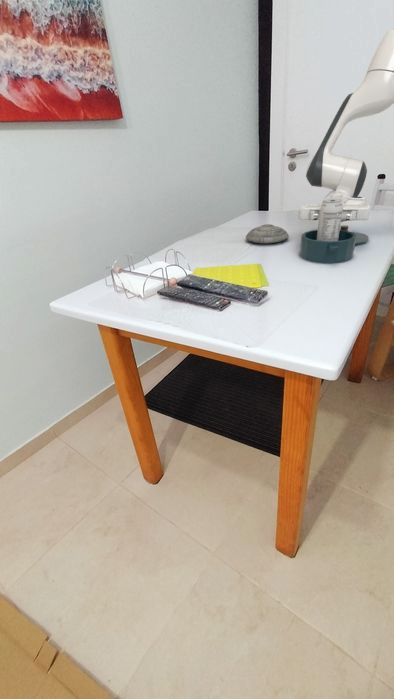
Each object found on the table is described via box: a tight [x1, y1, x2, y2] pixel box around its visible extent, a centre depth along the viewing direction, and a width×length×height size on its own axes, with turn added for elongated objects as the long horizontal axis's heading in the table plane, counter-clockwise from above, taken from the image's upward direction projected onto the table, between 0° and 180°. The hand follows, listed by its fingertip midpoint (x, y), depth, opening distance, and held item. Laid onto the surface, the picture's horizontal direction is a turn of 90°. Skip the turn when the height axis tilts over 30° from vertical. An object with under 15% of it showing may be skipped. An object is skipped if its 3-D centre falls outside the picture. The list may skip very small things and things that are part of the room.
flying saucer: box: [245, 223, 290, 244], centre depth 119 cm, size 15×15×6 cm
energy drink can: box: [317, 198, 343, 241], centre depth 98 cm, size 6×6×15 cm
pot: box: [299, 229, 356, 264], centre depth 100 cm, size 15×20×6 cm
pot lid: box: [340, 224, 369, 245], centre depth 112 cm, size 16×16×5 cm
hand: (331, 217), depth 98 cm, fingers open, 8 cm apart
